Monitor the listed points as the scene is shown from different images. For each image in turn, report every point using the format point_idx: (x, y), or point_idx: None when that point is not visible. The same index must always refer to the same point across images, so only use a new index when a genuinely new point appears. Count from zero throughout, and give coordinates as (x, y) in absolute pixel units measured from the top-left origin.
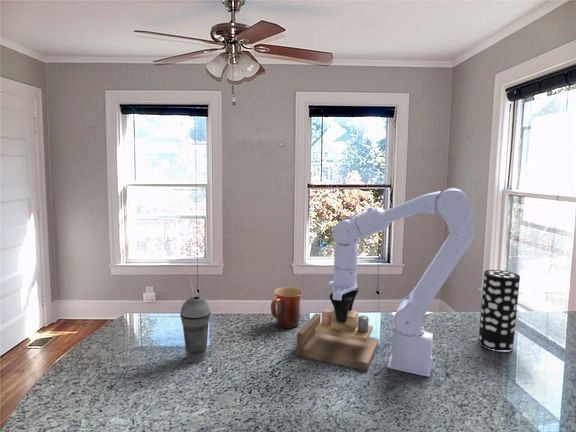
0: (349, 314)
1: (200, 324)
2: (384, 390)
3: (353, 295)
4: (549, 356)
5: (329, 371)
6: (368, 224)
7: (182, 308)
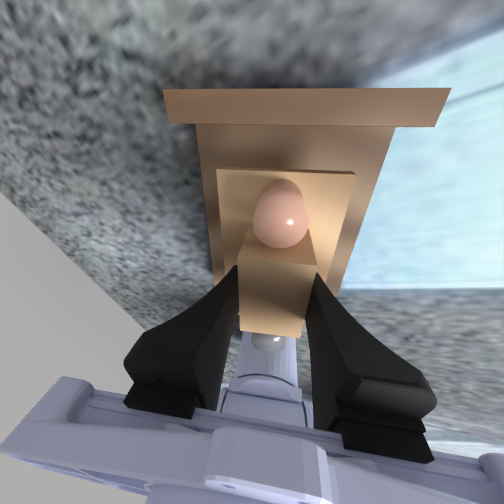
0: (258, 317)
1: None
2: (180, 297)
3: (314, 403)
4: None
5: (179, 215)
6: None
7: None
